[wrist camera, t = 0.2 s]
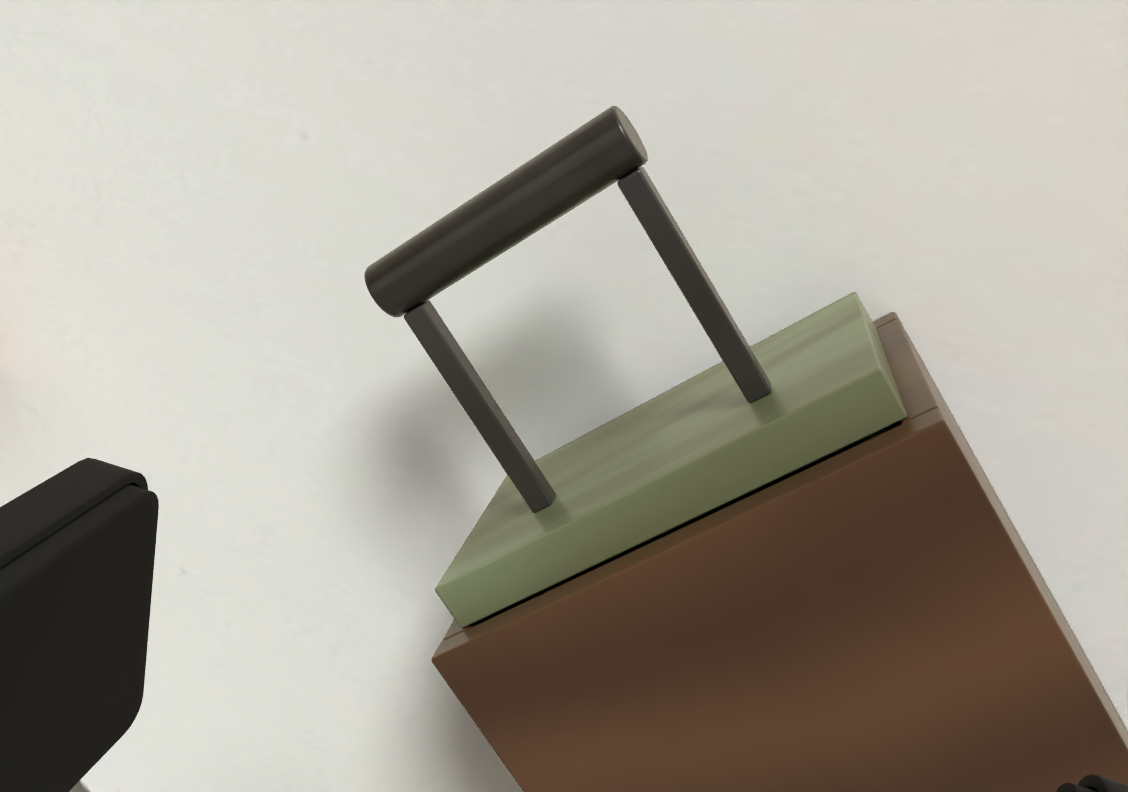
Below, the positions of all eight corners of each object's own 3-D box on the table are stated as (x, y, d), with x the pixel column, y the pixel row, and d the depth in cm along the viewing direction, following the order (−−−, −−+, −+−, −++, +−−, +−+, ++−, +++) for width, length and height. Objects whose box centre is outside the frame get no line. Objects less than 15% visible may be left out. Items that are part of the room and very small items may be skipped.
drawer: (371, 272, 28) (256, 335, 22) (717, 46, 25) (697, 43, 18) (729, 813, 32) (717, 999, 26) (1079, 689, 28) (1166, 872, 22)
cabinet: (518, 503, 31) (429, 660, 23) (894, 310, 27) (944, 419, 19) (748, 850, 33) (740, 1099, 26) (1124, 724, 29) (1255, 976, 21)
